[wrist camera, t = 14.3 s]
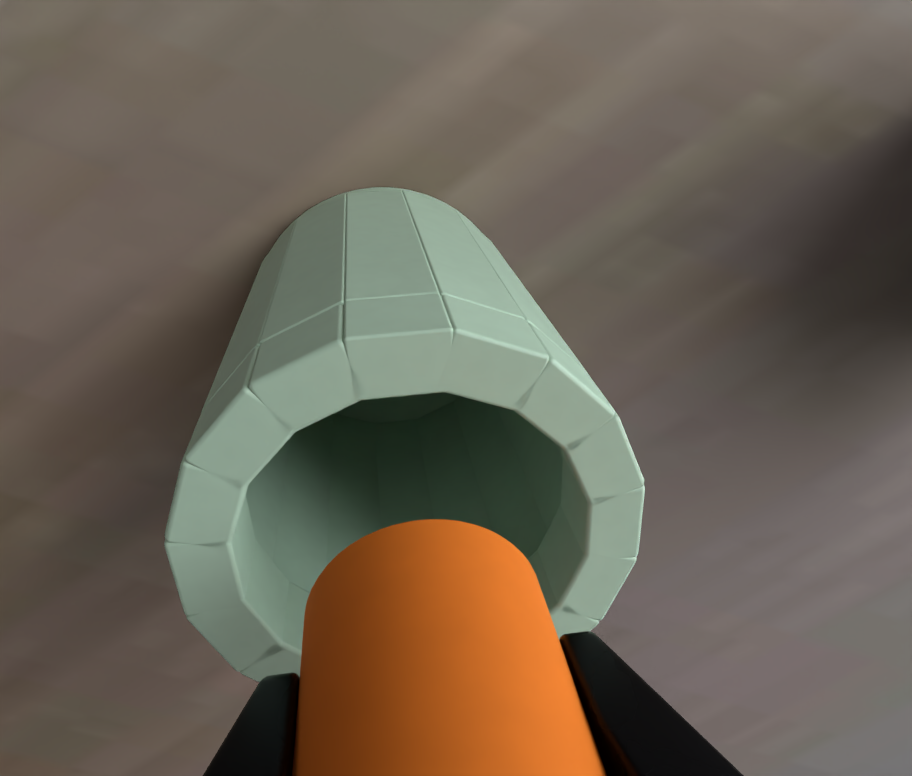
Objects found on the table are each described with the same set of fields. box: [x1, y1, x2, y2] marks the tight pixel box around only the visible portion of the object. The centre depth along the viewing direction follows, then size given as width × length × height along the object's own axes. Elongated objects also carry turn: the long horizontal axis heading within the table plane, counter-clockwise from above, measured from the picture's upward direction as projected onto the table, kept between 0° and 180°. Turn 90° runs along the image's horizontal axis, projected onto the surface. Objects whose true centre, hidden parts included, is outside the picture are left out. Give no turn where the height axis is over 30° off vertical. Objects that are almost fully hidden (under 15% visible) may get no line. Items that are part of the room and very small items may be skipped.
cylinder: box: [292, 519, 607, 776], centre depth 7 cm, size 3×3×4 cm
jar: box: [164, 187, 645, 682], centre depth 15 cm, size 7×7×10 cm
